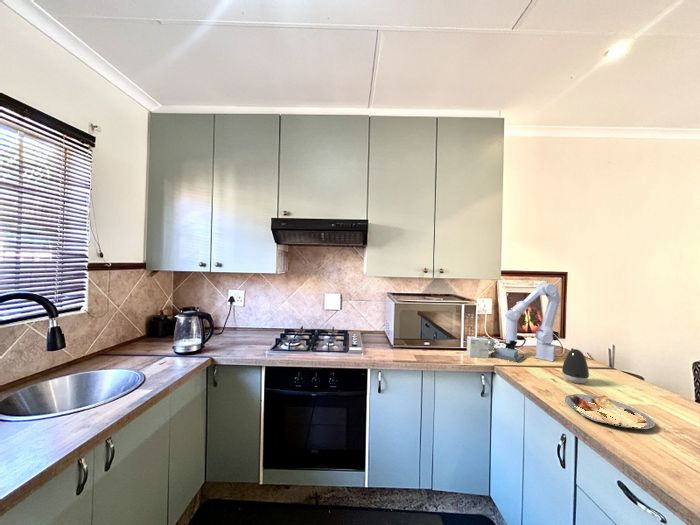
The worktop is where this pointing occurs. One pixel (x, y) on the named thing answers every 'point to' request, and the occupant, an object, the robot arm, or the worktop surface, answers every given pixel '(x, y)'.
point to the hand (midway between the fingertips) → (510, 353)
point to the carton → (507, 352)
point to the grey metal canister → (491, 344)
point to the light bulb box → (477, 347)
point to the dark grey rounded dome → (575, 367)
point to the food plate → (604, 407)
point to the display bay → (494, 354)
